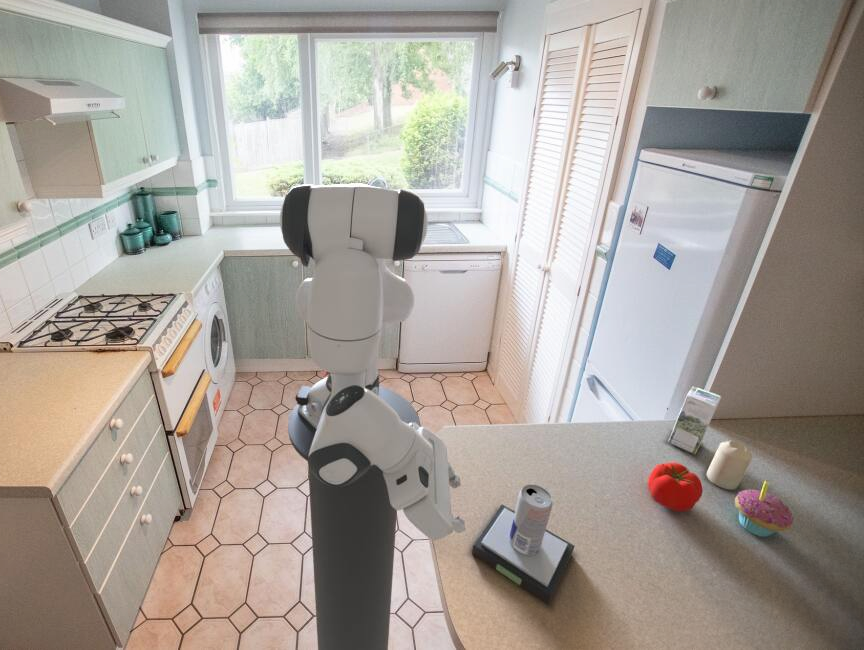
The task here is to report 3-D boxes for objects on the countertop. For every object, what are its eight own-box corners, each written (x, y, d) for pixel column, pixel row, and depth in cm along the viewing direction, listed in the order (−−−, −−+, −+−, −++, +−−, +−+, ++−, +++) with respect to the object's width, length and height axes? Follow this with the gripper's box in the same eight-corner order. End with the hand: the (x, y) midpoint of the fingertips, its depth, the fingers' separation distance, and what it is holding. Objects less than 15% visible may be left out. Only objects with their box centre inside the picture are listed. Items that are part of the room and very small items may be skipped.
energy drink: (525, 526, 85) (537, 479, 80) (546, 550, 80) (560, 502, 75) (502, 536, 83) (513, 488, 78) (523, 561, 79) (535, 513, 73)
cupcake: (742, 541, 86) (768, 495, 80) (718, 504, 93) (740, 460, 88) (793, 548, 84) (823, 503, 79) (765, 511, 92) (790, 467, 86)
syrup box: (701, 443, 109) (722, 394, 103) (694, 456, 105) (716, 406, 99) (673, 432, 113) (693, 384, 106) (666, 443, 109) (686, 394, 103)
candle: (739, 493, 96) (757, 458, 91) (707, 483, 98) (724, 448, 94) (735, 476, 100) (752, 441, 95) (704, 467, 102) (720, 432, 98)
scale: (470, 555, 83) (472, 544, 82) (499, 512, 91) (502, 501, 90) (547, 606, 75) (551, 595, 73) (571, 554, 83) (575, 543, 82)
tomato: (664, 478, 99) (675, 452, 96) (704, 510, 92) (717, 483, 88) (632, 489, 97) (641, 463, 93) (670, 523, 89) (682, 496, 86)
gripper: (396, 425, 87) (443, 468, 90) (390, 514, 69) (448, 564, 72) (421, 409, 85) (468, 454, 88) (421, 497, 66) (481, 549, 70)
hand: (459, 504), depth 80 cm, fingers open, 8 cm apart
